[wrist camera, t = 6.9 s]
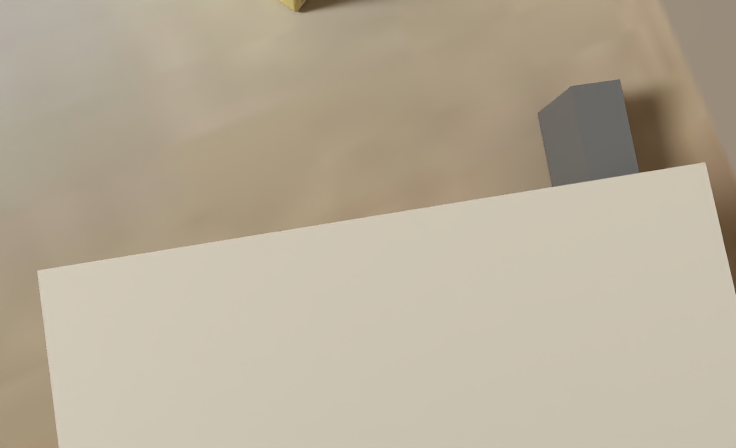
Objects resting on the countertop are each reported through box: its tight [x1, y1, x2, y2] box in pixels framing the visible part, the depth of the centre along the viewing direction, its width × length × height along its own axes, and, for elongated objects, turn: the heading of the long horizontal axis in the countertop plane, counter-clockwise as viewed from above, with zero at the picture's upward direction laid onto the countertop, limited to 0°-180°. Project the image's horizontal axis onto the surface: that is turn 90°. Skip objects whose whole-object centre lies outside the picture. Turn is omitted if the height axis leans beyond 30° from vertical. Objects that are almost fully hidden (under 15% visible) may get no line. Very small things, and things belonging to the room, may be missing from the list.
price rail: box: [538, 79, 639, 187], centre depth 21 cm, size 22×2×3 cm, turn 10°
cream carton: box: [37, 162, 736, 448], centre depth 11 cm, size 6×6×10 cm
